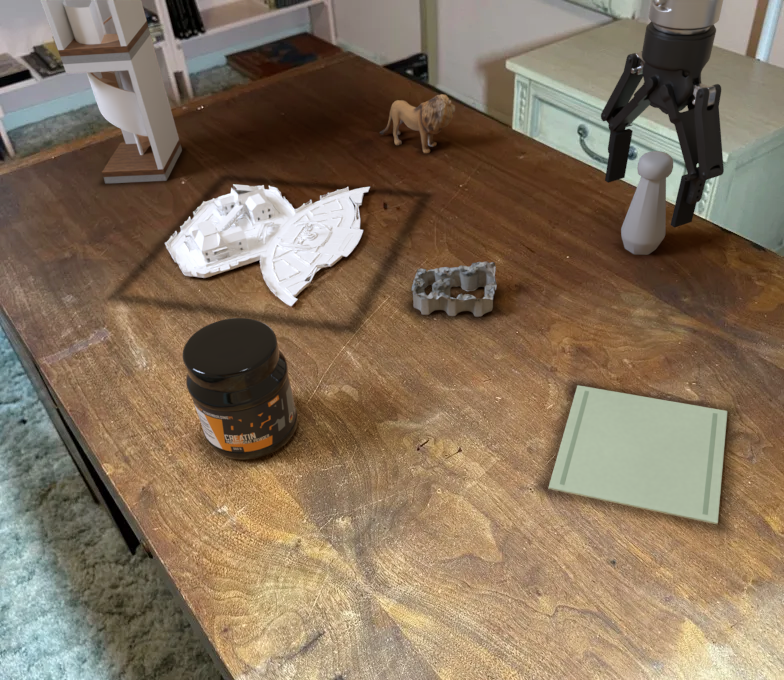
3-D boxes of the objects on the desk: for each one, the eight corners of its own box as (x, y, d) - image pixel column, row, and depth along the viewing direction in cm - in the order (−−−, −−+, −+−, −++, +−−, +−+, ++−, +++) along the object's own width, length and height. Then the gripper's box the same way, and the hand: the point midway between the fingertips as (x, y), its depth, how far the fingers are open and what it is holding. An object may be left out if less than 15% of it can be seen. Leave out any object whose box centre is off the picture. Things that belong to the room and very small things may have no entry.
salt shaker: (663, 259, 103) (683, 166, 94) (619, 258, 104) (634, 166, 94) (660, 236, 107) (678, 145, 97) (617, 235, 108) (632, 145, 98)
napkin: (577, 387, 87) (577, 384, 86) (726, 412, 82) (727, 410, 82) (548, 489, 77) (548, 487, 76) (717, 525, 72) (717, 522, 72)
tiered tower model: (124, 153, 138) (48, -79, 112) (182, 150, 137) (118, -84, 112) (105, 183, 130) (19, -59, 105) (166, 180, 129) (94, -64, 104)
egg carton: (498, 287, 101) (499, 260, 98) (491, 321, 96) (492, 294, 93) (419, 282, 103) (418, 255, 100) (408, 315, 98) (407, 288, 95)
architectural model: (130, 286, 106) (120, 259, 103) (231, 176, 127) (226, 151, 124) (316, 310, 99) (312, 282, 96) (391, 189, 120) (389, 163, 117)
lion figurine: (460, 145, 131) (459, 91, 124) (444, 158, 128) (443, 103, 121) (387, 131, 137) (383, 78, 130) (371, 143, 134) (366, 89, 127)
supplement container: (193, 461, 83) (161, 377, 74) (221, 396, 90) (195, 312, 81) (287, 467, 81) (266, 381, 72) (308, 400, 88) (291, 314, 80)
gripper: (587, 0, 92) (567, 169, 107) (735, 65, 76) (687, 252, 92) (638, -12, 94) (612, 156, 109) (793, 50, 78) (736, 235, 93)
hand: (646, 200), depth 100 cm, fingers open, 13 cm apart
